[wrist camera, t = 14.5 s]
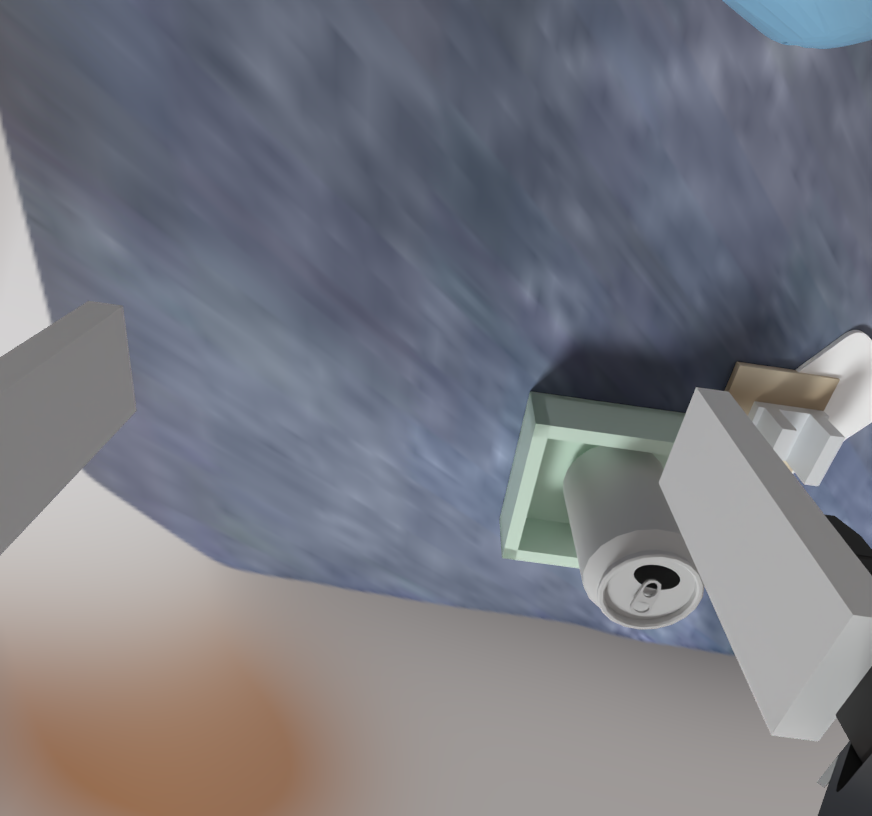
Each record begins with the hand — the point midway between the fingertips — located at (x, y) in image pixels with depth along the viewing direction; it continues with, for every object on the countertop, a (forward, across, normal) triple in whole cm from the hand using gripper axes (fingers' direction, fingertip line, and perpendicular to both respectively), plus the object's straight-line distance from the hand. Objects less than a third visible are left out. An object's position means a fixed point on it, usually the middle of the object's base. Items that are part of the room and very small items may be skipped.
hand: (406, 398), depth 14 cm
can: (+26, +16, -19) cm, 36 cm away
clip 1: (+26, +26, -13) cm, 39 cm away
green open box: (+27, +14, -19) cm, 36 cm away
